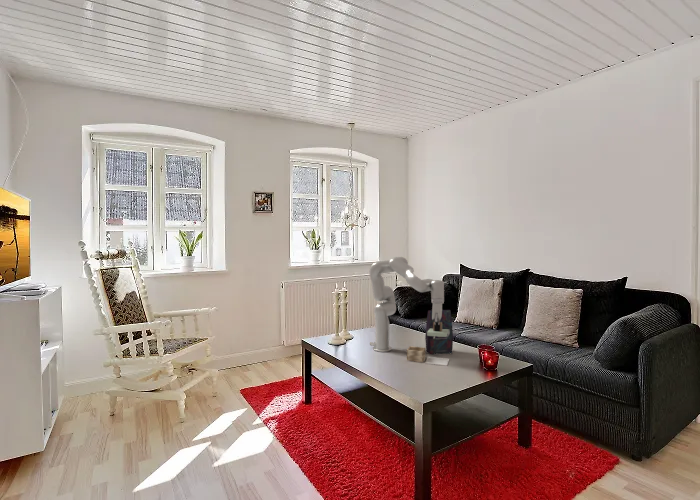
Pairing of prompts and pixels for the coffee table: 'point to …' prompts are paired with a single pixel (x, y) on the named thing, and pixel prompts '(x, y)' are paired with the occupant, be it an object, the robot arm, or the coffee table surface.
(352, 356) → the coffee table surface
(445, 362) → the mat
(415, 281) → the robot arm
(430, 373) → the coffee table surface
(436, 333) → the lid
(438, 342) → the dark patterned coffee bag
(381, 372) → the coffee table surface
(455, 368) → the coffee table surface
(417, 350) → the box
